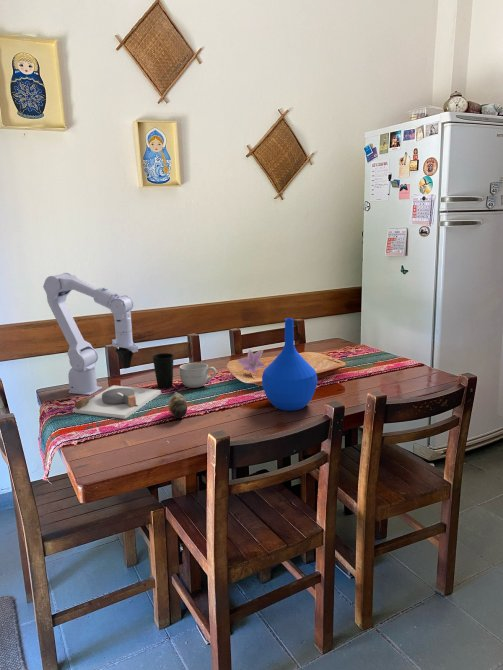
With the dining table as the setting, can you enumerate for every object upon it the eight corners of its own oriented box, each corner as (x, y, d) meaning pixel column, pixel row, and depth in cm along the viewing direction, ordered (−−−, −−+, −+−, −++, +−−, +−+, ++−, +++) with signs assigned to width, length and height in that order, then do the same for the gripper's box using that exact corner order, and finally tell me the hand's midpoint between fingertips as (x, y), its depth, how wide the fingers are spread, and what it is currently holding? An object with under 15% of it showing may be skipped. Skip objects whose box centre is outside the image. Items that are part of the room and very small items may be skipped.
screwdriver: (81, 408, 172) (79, 401, 172) (76, 409, 173) (73, 402, 173) (97, 398, 180) (95, 392, 180) (92, 399, 181) (90, 393, 181)
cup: (171, 390, 191) (169, 359, 188) (151, 389, 193) (149, 358, 190) (178, 383, 199) (176, 353, 196) (159, 382, 200) (157, 352, 197)
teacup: (175, 388, 193) (173, 368, 191) (189, 379, 203) (188, 359, 201) (208, 392, 188) (207, 371, 186) (221, 383, 198) (220, 363, 196)
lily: (236, 372, 213) (230, 356, 207) (260, 358, 216) (255, 342, 210) (251, 389, 204) (245, 372, 198) (275, 374, 207) (270, 357, 201)
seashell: (166, 413, 170) (164, 390, 168) (182, 410, 172) (181, 387, 170) (173, 424, 162) (172, 400, 160) (191, 420, 164) (190, 397, 162)
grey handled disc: (96, 398, 181) (95, 390, 180) (124, 390, 188) (123, 382, 187) (118, 410, 170) (118, 401, 169) (147, 401, 177) (147, 392, 176)
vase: (253, 401, 179) (251, 316, 172) (300, 392, 186) (300, 311, 179) (277, 420, 163) (276, 328, 155) (327, 410, 170) (328, 321, 162)
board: (73, 412, 173) (72, 408, 173) (113, 388, 195) (113, 384, 195) (125, 418, 167) (124, 414, 166) (160, 393, 189) (160, 389, 188)
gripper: (103, 329, 185) (106, 365, 188) (124, 336, 174) (127, 374, 178) (120, 326, 189) (123, 361, 193) (142, 332, 179) (144, 370, 182)
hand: (126, 367), depth 185 cm, fingers closed
